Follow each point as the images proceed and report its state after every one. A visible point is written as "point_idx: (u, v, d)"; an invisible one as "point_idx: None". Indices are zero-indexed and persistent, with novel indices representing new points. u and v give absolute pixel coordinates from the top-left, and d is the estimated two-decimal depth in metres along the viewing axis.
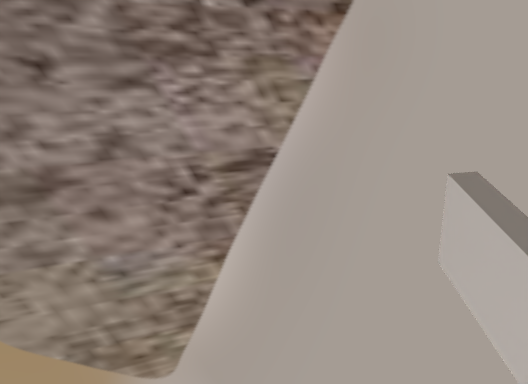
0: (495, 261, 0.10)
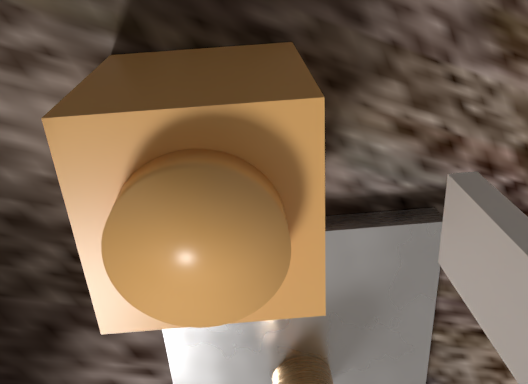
0: (495, 261, 0.10)
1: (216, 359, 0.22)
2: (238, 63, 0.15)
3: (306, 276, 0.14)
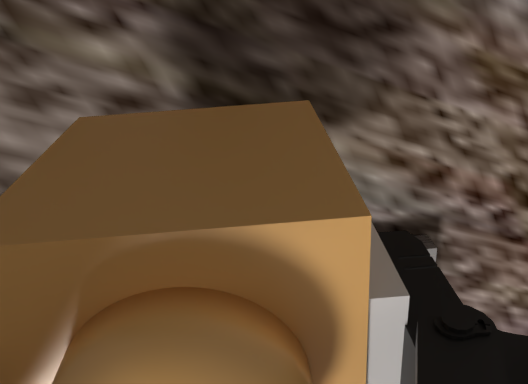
0: None
1: None
2: (241, 137, 0.11)
3: None
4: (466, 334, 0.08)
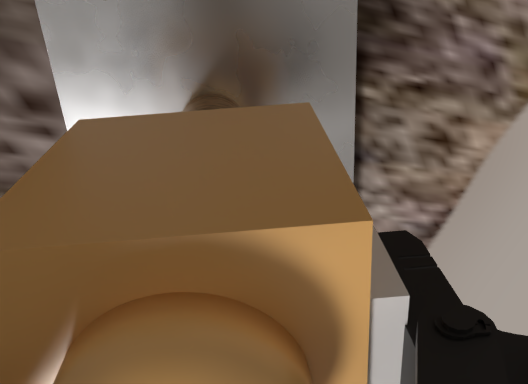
0: None
1: (113, 94, 0.20)
2: (241, 140, 0.11)
3: None
4: (466, 334, 0.08)
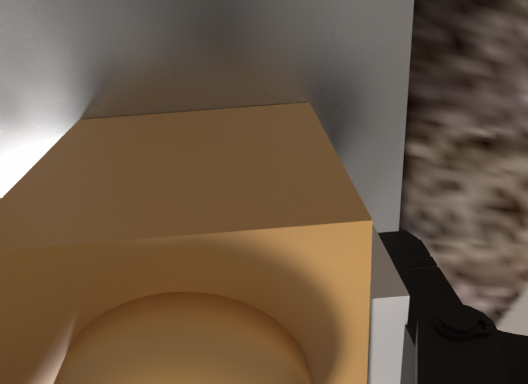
0: None
1: None
2: (241, 140, 0.11)
3: None
4: (466, 334, 0.08)
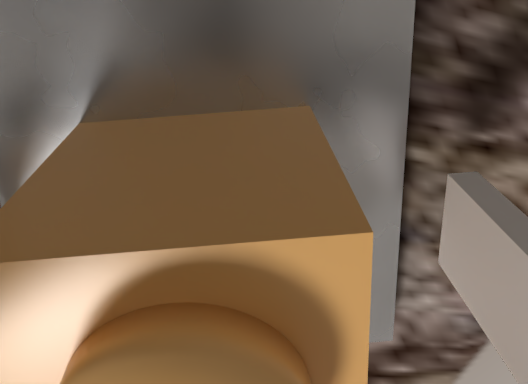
0: (495, 261, 0.10)
1: None
2: (242, 146, 0.11)
3: None
4: None
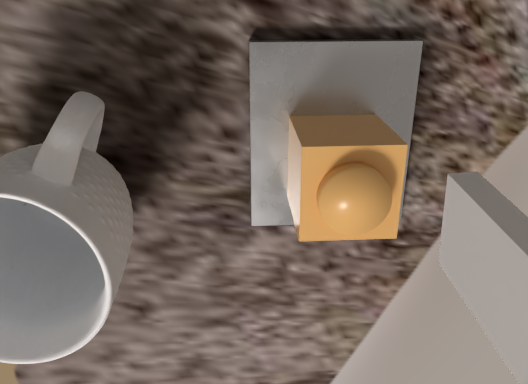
0: (495, 261, 0.10)
1: (279, 132, 0.36)
2: (359, 125, 0.33)
3: (390, 218, 0.32)
4: None
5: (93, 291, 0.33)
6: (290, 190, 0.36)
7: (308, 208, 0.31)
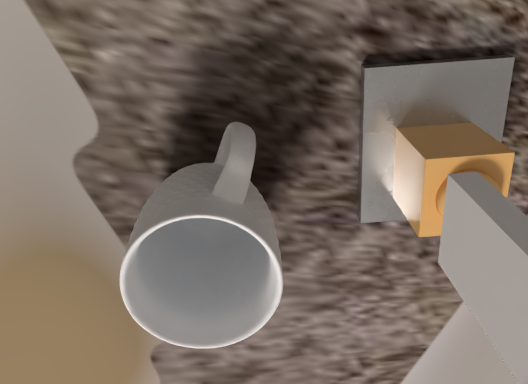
0: (495, 261, 0.10)
1: (387, 142, 0.42)
2: (463, 135, 0.39)
3: None
4: None
5: (245, 286, 0.39)
6: (399, 192, 0.42)
7: (428, 209, 0.37)
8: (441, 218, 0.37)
